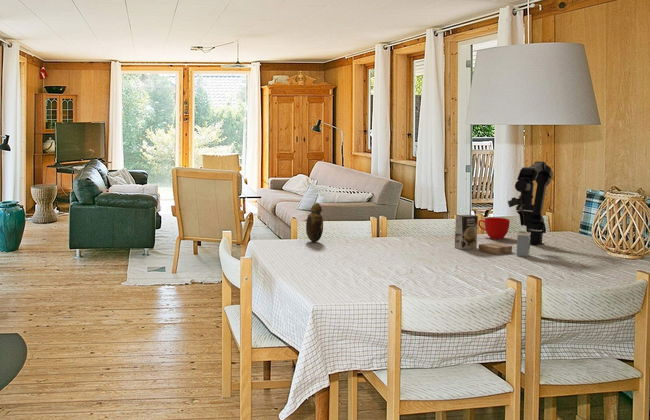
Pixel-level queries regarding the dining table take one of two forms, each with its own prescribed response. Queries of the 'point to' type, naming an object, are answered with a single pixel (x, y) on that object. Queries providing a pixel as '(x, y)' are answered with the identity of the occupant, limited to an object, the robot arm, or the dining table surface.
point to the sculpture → (315, 223)
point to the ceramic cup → (495, 227)
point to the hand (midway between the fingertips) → (523, 225)
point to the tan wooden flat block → (495, 248)
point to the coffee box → (466, 231)
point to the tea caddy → (523, 244)
